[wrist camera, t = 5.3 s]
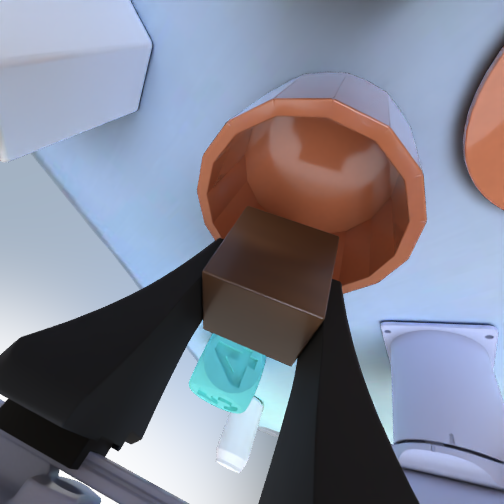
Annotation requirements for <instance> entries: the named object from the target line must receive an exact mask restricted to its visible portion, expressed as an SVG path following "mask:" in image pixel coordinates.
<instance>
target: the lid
mask: <svg viewBox="0 0 504 504" xmlns="http://www.w3.org/2000/svg"><path fill="white" fill-rule="evenodd" d="M463 154H464V161H465V164H466V168H467V171H468V173H469V175H470V177H471V179H472V181H473V183H474V185H475V186H476V187H477V189H478V190H479V191H480V192H481V194H482V195H483V196H484V197H485V198H487V199H488V200H489V201H490V202H491V203H492V204H494V205H496V206H497V207H499V208H501V209H502V210H504V46H503V48H502V49H501V51H500V52H499V54H498V55H497V57H496V58H495V60H494V61H493V63H492V64H491V66H490V67H489V69H488V70H487V72H486V74H485V76H484V78H483V80H482V82H481V83H480V85H479V87H478V89H477V91H476V93H475V96H474V98H473V101H472V104H471V106H470V109H469V111H468V115H467V119H466V123H465V127H464V136H463Z"/></svg>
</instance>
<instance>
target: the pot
mask: <svg viewBox="0 0 504 504" xmlns="http://www.w3.org/2000/svg"><path fill="white" fill-rule="evenodd" d="M197 194H198V198H199V202H200V206H201V211H202V215H203V219H204V223H205V225H206V227H207V228H208V230H209V231H210V233H211V235H212V236H213V238H214V239H215V240H216V239H218V238H222V239H225V237H226V236H227V234H228V233H229V231H230V230H231V228H232V227H233V226H234V224H235V223H236V221H237V220H238V218H239V217H240V215H241V214H242V212H243V211H244V210H245V208H246V207H247V206H251V207H254V208H257V209H260V210H262V211H265V212H268V213H271V214H274V215H277V216H280V217H283V218H286V219H289V220H292V221H295V222H298V223H301V224H304V225H307V226H310V227H313V228H316V229H319V230H322V231H325V232H328V233H331V234H334V235H337V236H339V243H338V249H337V254H336V260H335V265H334V271H333V276H332V279H335V280H338V281H340V282H341V284H342V291H343V294H345V293H348V292H351V291H354V290H357V289H360V288H364V287H367V286H370V285H373V284H376V283H378V282H380V281H381V280H382V279H384V278H385V277H386V276H387V275H389V274H390V273H391V272H393V271H394V270H395V269H396V268H398V267H399V266H400V265H402V264H403V263H404V262H405V261H407V260H408V259H409V257H410V255H411V253H412V251H413V249H414V247H415V245H416V243H417V241H418V239H419V237H420V235H421V232H422V230H423V228H424V226H425V224H426V222H427V221H426V220H427V213H426V201H425V188H424V176H423V171H422V167H421V164H420V160H419V156H418V152H417V149H416V145H415V141H414V138H413V134H412V130H411V127H410V125H409V123H408V122H407V120H406V119H405V117H404V116H403V114H402V112H401V111H400V109H399V107H398V106H397V105H396V103H395V102H394V101H393V100H392V99H391V97H390V96H389V94H388V93H387V92H386V91H384V90H382V89H380V88H379V87H377V86H376V85H374V84H372V83H371V82H369V81H367V80H365V79H362V78H359V77H357V76H354V75H352V74H350V73H339V72H321V73H312V74H304V75H301V76H299V77H297V78H295V79H293V80H291V81H289V82H286V83H285V84H283V85H281V86H279V87H278V88H276V89H274V90H272V91H270V92H268V93H267V94H265V95H264V96H262V97H261V98H260V99H258V100H257V101H255V102H254V103H253V104H251V105H250V106H248V107H247V108H245V109H244V110H243V111H241V112H240V113H238V114H237V115H236V116H234V117H233V118H231V119H230V120H229V121H228V122H226V124H225V125H224V127H223V128H222V129H221V131H220V132H219V133H218V135H217V136H216V138H215V139H214V140H213V142H212V143H211V144H210V146H209V147H208V149H207V150H206V151H205V153H204V155H203V157H202V163H201V169H200V175H199V181H198V187H197Z"/></svg>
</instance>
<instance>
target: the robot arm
mask: <svg viewBox="0 0 504 504" xmlns="http://www.w3.org/2000/svg"><path fill="white" fill-rule="evenodd" d="M223 240H224V239H222V238H218V239H216V240H215V241H214V242H213V243H211V244H210V245H209V246H208V247H206V248H205V249H204V250H202V251H201V252H200V253H198V254H197V255H195V256H194V257H193V258H191V259H190V260H188V261H187V262H185V263H184V264H183V265H181V266H180V267H178V268H177V269H175V270H173V271H172V272H170V273H169V274H167V275H165V276H164V277H162V278H161V279H159V280H157V281H155V282H154V283H152V284H150V285H148V286H147V287H145V288H143V289H141V290H139V291H137V292H135V293H133V294H131V295H129V296H127V297H125V298H123V299H121V300H119V301H117V302H114V303H112V304H110V305H108V306H105V307H103V308H101V309H98V310H96V311H93V312H91V313H88V314H86V315H83V316H81V317H78V318H76V319H73V320H70V321H68V322H65V323H62V324H59V325H56V326H53V327H51V328H47V329H44V330H41V331H38V332H35V333H32V334H29V335H26V336H23V337H21V338H19V339H18V340H17V341H16V342H14V343H13V344H12V345H11V346H10V347H9V348H8V349H6V350H5V351H4V352H3V353H2V354H1V355H0V394H1V395H3V396H5V397H7V398H9V399H8V400H7V401H6V402H4V401H2V400H0V504H100V502H101V498H100V497H98V495H96V494H95V493H94V492H93V491H92V490H91V489H89V488H88V487H87V486H85V485H84V484H82V483H80V482H78V481H75V480H71V479H67V478H64V477H59V476H58V473H59V469H60V470H62V471H64V472H65V473H67V474H69V475H71V476H72V477H74V478H76V479H78V480H79V481H81V482H83V483H85V484H86V485H88V486H90V487H91V488H93V489H95V490H97V491H98V492H100V493H102V494H104V495H105V496H107V497H109V498H110V499H112V500H114V501H115V502H117V503H119V504H189V503H187V502H185V501H183V500H181V499H180V498H178V497H176V496H174V495H173V494H171V493H169V492H167V491H165V490H163V489H162V488H160V487H158V486H156V485H154V484H153V483H151V482H149V481H147V480H145V479H143V478H142V477H140V476H138V475H136V474H134V473H133V472H131V471H129V470H127V469H125V468H124V467H122V466H120V465H118V464H116V463H115V462H113V461H111V460H109V459H107V458H105V456H106V454H107V453H108V451H109V449H110V448H111V447H112V448H113V449H115V450H117V451H119V450H120V449H121V447H122V446H123V444H124V442H127V443H129V444H133V443H135V442H137V441H139V440H141V439H142V437H143V435H144V433H145V431H146V429H147V426H148V424H149V422H150V420H151V418H152V415H153V413H154V411H155V409H156V407H157V405H158V402H159V400H160V398H161V396H162V394H163V392H164V390H165V388H166V386H167V384H168V382H169V380H170V378H171V376H172V373H173V372H174V370H175V368H176V366H177V363H178V362H179V359H180V358H181V356H182V354H183V352H184V350H185V348H186V346H187V344H188V342H189V341H190V339H191V337H192V336H193V334H194V332H195V331H196V329H197V328H198V326H199V324H200V323H201V321H202V320H203V292H202V271H203V269H204V268H205V266H206V265H207V263H208V262H209V260H210V259H211V257H212V256H213V255H214V253H215V252H216V250H217V249H218V247H219V246H220V244H221V243H222V242H223ZM381 331H382V335H383V338H384V342H385V346H386V350H387V353H388V357H389V361H390V365H391V375H392V407H393V439H394V445H392V444H390V441H389V439H388V437H387V435H386V433H385V430H384V428H383V426H382V424H381V421H380V419H379V417H378V414H377V412H376V409H375V407H374V404H373V402H372V399H371V397H370V394H369V391H368V389H367V386H366V383H365V380H364V377H363V374H362V371H361V368H360V365H359V362H358V358H357V355H356V352H355V348H354V345H353V341H352V337H351V333H350V328H349V324H348V320H347V315H346V310H345V304H344V298H343V291H342V284H341V282H340V281H338V280H335V279H332V282H331V288H330V293H329V299H328V304H327V310H326V315H325V319H324V321H323V322H322V324H321V325H320V326H319V328H318V329H317V331H316V332H315V333H314V335H313V336H312V338H311V339H310V341H309V342H308V343H307V345H306V346H305V348H304V349H303V351H302V352H301V353H300V355H299V356H298V359H297V365H296V371H295V377H294V381H293V386H292V390H291V394H290V398H289V401H288V405H287V409H286V412H285V416H284V420H283V423H282V427H281V430H280V434H279V437H278V441H277V445H276V448H275V451H274V455H273V458H272V462H271V465H270V468H269V471H268V475H267V478H266V481H265V484H264V488H263V491H262V494H261V497H260V500H259V504H504V402H503V399H502V395H501V392H500V389H499V386H498V383H497V380H496V377H495V373H494V363H495V356H496V348H497V341H498V330H497V328H496V327H494V326H489V325H463V324H436V323H408V322H382V323H381Z"/></svg>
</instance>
